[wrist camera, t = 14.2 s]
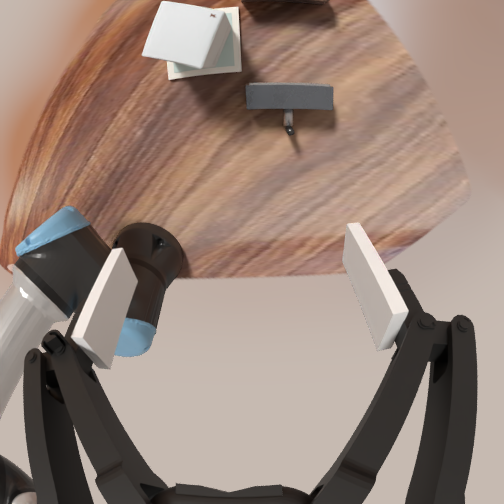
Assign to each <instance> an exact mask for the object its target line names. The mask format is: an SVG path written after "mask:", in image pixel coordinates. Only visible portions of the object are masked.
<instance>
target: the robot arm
mask: <svg viewBox="0 0 504 504" xmlns="http://www.w3.org/2000/svg"><path fill="white" fill-rule="evenodd" d="M16 253H17V256H18V257H19V256H20V257H19V259H18V260H17V262H16V263H15V264H14V265H13V283H12V285H11V286H10V287H9V289H8V290H7V292H6V293H5V295H4V296H3V298H2V299H1V301H0V419H1V416H2V414H3V412H4V410H5V408H6V406H7V403H8V401H9V399H10V397H11V395H12V393H13V391H14V389H15V387H16V386H17V384H18V382H19V380H20V378H21V376H22V374H23V372H24V380H23V381H24V382H23V394H24V395H23V396H24V398H23V399H24V420H25V433H26V442H27V450H28V456H29V463H30V468H31V474H32V478H33V479H31V478H30V477H29V476H28V475H27V474H26V473H25V472H23V471H22V470H21V469H20V468H19V467H18V466H16V465H15V464H14V463H12V462H11V461H9V460H8V459H7V458H5V457H3V456H1V455H0V504H94V503H93V500H92V496H91V493H90V490H89V487H88V483H87V480H86V477H85V473H84V470H83V466H82V462H81V459H80V455H79V450H78V446H77V441H76V437H75V432H74V427H75V429H76V432H77V434H78V436H79V439H80V441H81V443H82V445H83V447H84V449H85V451H86V453H87V455H88V457H89V459H90V461H91V463H92V465H93V467H94V469H95V471H96V473H97V477H96V479H95V482H96V484H97V487H98V489H99V490H100V492H101V494H102V495H103V497H104V499H105V500H106V502H107V503H108V504H362V503H363V501H364V500H365V499H366V497H367V496H368V494H369V493H370V491H371V489H372V487H373V486H374V484H375V481H376V475H377V473H378V471H379V470H380V468H381V466H382V465H383V463H384V461H385V459H386V457H387V456H388V454H389V452H390V450H391V448H392V446H393V444H394V442H395V440H396V438H397V436H398V434H399V432H400V430H401V428H402V426H403V424H404V421H405V419H406V417H407V415H408V413H409V410H410V408H411V406H412V403H413V400H414V398H415V396H416V393H417V391H418V388H419V385H420V383H421V380H422V377H423V374H424V372H425V369H426V366H427V362H431V363H430V378H429V389H428V397H427V406H426V413H425V419H424V425H423V431H422V436H421V441H420V446H419V451H418V455H417V459H416V464H415V467H414V471H413V475H412V478H411V482H410V485H409V489H408V493H407V497H406V502H405V504H465V495H464V493H465V489H466V484H467V480H468V475H469V470H470V465H471V459H472V453H473V446H474V436H475V428H476V414H477V356H476V342H475V332H474V326H473V323H472V322H471V320H470V319H469V318H467V317H466V316H463V315H457V316H455V317H454V318H453V320H452V321H451V322H445V321H436V319H435V318H434V317H433V316H432V315H430V314H429V313H425V312H424V311H423V309H422V307H421V305H420V303H419V301H418V300H417V298H416V296H415V294H414V292H413V291H412V290H411V287H410V285H409V284H408V282H407V280H406V278H405V277H404V275H403V274H402V273H401V272H399V271H398V270H397V269H391V270H387V269H386V267H385V265H384V264H383V262H382V260H381V258H380V257H379V255H378V253H377V251H376V250H375V248H374V246H373V245H372V243H371V241H370V240H369V238H368V236H367V235H366V233H365V232H364V230H363V228H362V227H361V225H360V224H359V223H349V224H347V225H346V234H345V243H344V251H343V259H342V262H343V264H344V267H345V269H346V271H347V274H348V276H349V279H350V281H351V283H352V286H353V288H354V291H355V293H356V295H357V298H358V301H359V303H360V306H361V308H362V311H363V314H364V316H365V319H366V321H367V324H368V327H369V330H370V333H371V335H372V338H373V341H374V344H375V346H376V349H377V351H380V350H384V349H389V348H391V347H392V345H393V343H394V341H395V343H396V345H397V349H396V351H395V353H394V355H393V357H392V361H391V363H390V365H389V367H388V369H387V372H386V374H385V376H384V378H383V380H382V382H381V384H380V386H379V388H378V390H377V392H376V394H375V396H374V398H373V400H372V402H371V404H370V406H369V408H368V409H367V411H366V413H365V415H364V417H363V418H362V420H361V422H360V423H359V425H358V427H357V429H356V430H355V432H354V433H353V435H352V437H351V438H350V440H349V441H348V443H347V445H346V446H345V448H344V449H343V451H342V452H341V454H340V455H339V457H338V458H337V460H336V461H335V463H334V464H333V466H332V467H331V468H330V470H329V471H328V472H327V473H326V474H325V476H324V477H323V478H322V479H321V481H320V482H319V483H318V485H317V486H316V487H315V489H314V490H313V491H312V492H311V494H310V495H308V494H306V493H305V492H302V491H300V490H297V489H294V488H290V487H284V486H282V485H270V486H255V487H250V488H246V489H242V490H238V491H234V492H225V491H221V490H217V489H213V488H208V487H204V486H199V485H186V484H177V483H176V486H174V487H170V488H168V486H167V485H166V484H165V483H164V482H163V481H162V480H161V479H160V478H159V477H158V476H157V475H156V474H154V473H153V471H152V470H151V469H150V468H149V466H148V465H147V463H146V462H145V460H144V459H143V457H142V456H141V455H140V453H139V452H138V450H137V449H136V447H135V445H134V444H133V442H132V441H131V439H130V438H129V436H128V434H127V432H126V431H125V430H124V427H123V426H122V424H121V422H120V421H119V419H118V417H117V415H116V413H115V412H114V410H113V408H112V407H111V404H110V402H109V400H108V398H107V396H106V395H105V393H104V390H103V389H102V386H101V384H100V382H99V380H98V378H97V376H96V374H95V371H94V370H93V369H92V364H93V363H94V364H95V365H96V366H97V367H98V368H104V369H110V368H111V364H112V361H113V357H114V355H117V356H123V357H132V356H138V355H142V354H143V353H145V352H147V351H148V349H149V348H150V346H151V344H152V340H153V337H154V335H155V334H156V328H157V324H158V319H159V315H160V311H161V307H162V302H163V298H164V294H165V291H166V289H167V288H168V287H169V285H170V284H171V283H172V281H173V280H174V279H175V278H176V277H177V276H178V274H179V272H180V269H181V265H182V261H183V254H182V250H181V247H180V245H179V243H178V242H177V240H176V239H175V238H174V237H173V236H172V235H171V234H170V233H169V232H168V231H166V230H165V229H163V228H161V227H159V226H157V225H154V224H150V223H134V224H131V225H128V226H126V227H125V228H123V229H122V230H121V231H120V232H119V234H118V236H117V237H116V239H115V241H114V243H113V247H112V250H111V249H110V248H109V246H108V245H107V244H106V243H105V242H104V241H103V239H102V238H101V237H100V236H99V234H98V233H97V232H96V231H95V229H94V228H93V227H92V226H91V223H90V222H89V221H87V220H86V219H85V218H84V217H83V215H82V214H81V213H80V212H79V211H78V210H77V209H76V208H75V207H73V206H65V207H63V208H62V209H60V210H59V211H58V212H56V213H55V214H54V215H53V216H51V217H50V218H49V219H48V220H46V221H45V222H44V223H43V224H42V225H40V226H39V227H38V228H37V229H36V230H34V231H33V232H32V233H31V234H30V235H29V236H28V237H26V238H25V239H24V240H23V241H22V242H21V243H20V244H19V245H18V246H17V247H16ZM73 312H74V313H75V314H74V316H73V320H72V321H71V323H70V325H69V327H68V330H67V332H66V335H65V337H63V335H62V334H61V333H60V332H59V331H58V330H51V331H49V329H50V328H51V326H52V325H53V323H55V322H60V321H67V320H68V319H69V318H70V316H71V315H72V313H73ZM48 331H49V332H48ZM47 332H48V333H47ZM40 343H41V345H42V347H43V348H44V349H45V350H46V352H45V353H42V352H41V351H40V350H39V349H37V348H38V347H39V345H40ZM46 385H47V387H46ZM73 425H74V427H73ZM282 493H283V494H282Z"/></svg>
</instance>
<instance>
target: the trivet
mask: <svg viewBox="0 0 504 504" xmlns="http://www.w3.org/2000/svg"><path fill="white" fill-rule="evenodd" d="M215 10H220V11H224V12H225V13H226V15H227V18H228V20H229V22H230V25H231V27H232V28H231V31H230V33H229V35H228V38H227V40H226V43H225V45H224V48H223V50H222V52H221V55H220V57H219V60H218V62H217V64H216V67H212V68H202V69H197V68H194V67H190V66H186V65H182V64H178V63H174V62H169V61H167V67H168V77H169V80H171V79H177V78H184V77H191V76H198V75H207V74H217V73H228V72H242V67H241V49H240V30H239V11H238V7H230V8H218V9H215Z"/></svg>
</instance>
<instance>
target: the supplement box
mask: <svg viewBox="0 0 504 504" xmlns="http://www.w3.org/2000/svg"><path fill="white" fill-rule="evenodd" d="M231 28H232V27H231V25H230V22H229V20H228V18H227V15H226V13H225V12H224V11H220V10H215V9H211V8H205V7H200V6H194V5H188V4H181V3H174V2H167V1H162V2H161V5H160V7H159V9H158V12H157V14H156V17H155V19H154V22H153V24H152V27H151V30H150V32H149V35H148V38H147V41H146V44H145V47H144V50H143V53H142V56H145V57H151V58H156V59H160V60H165V61H169V62H174V63H178V64H182V65H186V66H190V67H194V68H197V69H202V68H212V67H216V64H217V62H218V60H219V57H220V55H221V52H222V50H223V48H224V45H225V43H226V40H227V38H228V35H229V33H230V31H231Z"/></svg>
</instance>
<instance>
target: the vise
mask: <svg viewBox="0 0 504 504" xmlns="http://www.w3.org/2000/svg"><path fill="white" fill-rule="evenodd" d="M327 1H329V0H241V2H297V3H310V4H319V5H323V4H324V3H326V2H327ZM246 103H247V109H283V110H284V123H283V126H284V128H285V130H286V132H287V133H288V135H293V134H294V130H293V129H292V127H291V126H293V109H321V110H333V87H332V86H330V85H329V84H320V83H300V82H255V83H247V84H246Z"/></svg>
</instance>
